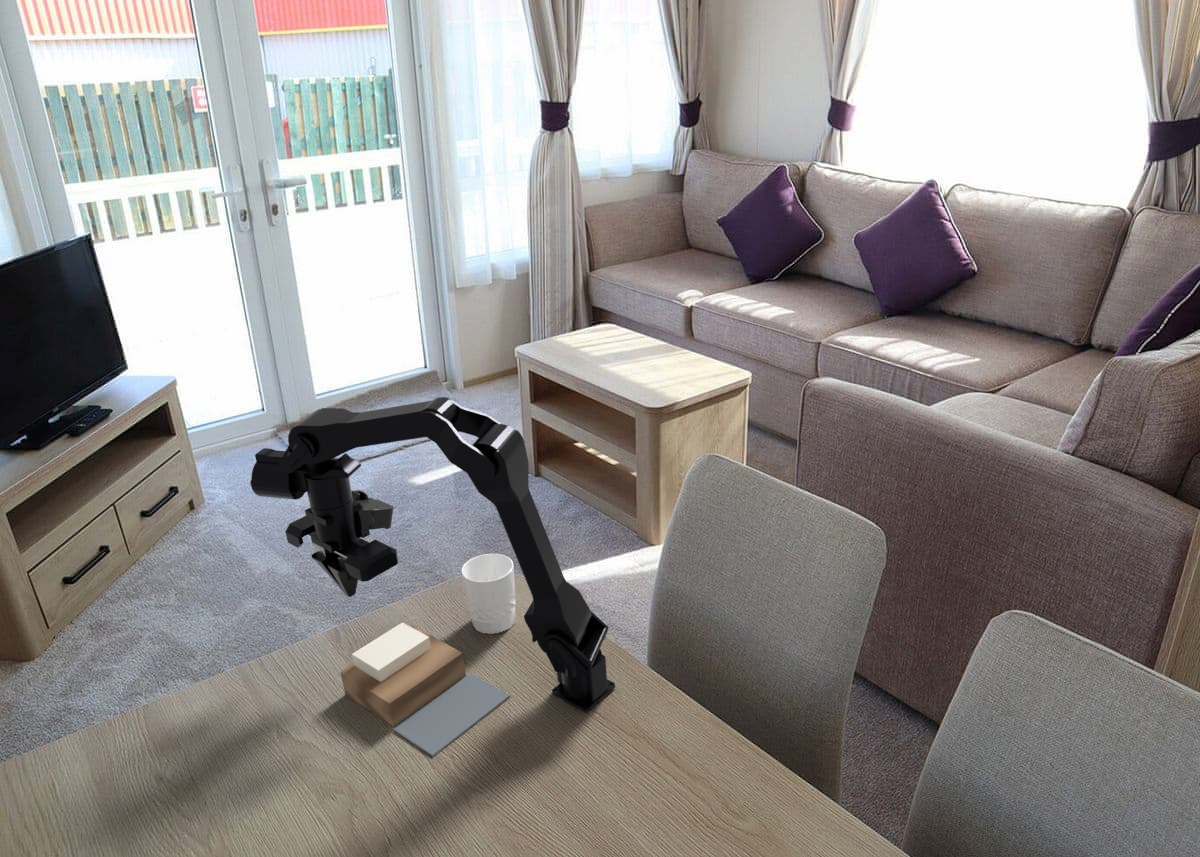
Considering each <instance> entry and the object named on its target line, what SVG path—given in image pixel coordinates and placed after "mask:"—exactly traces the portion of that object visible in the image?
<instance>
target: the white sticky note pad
mask: <svg viewBox="0 0 1200 857" xmlns="http://www.w3.org/2000/svg"><path fill="white" fill-rule="evenodd" d="M430 649H431V645H430V639H429V637H428V636H426V635H425V634H423V633H421V632H419V631H417V630H415V629H414V628H412V627H411V626H410V625H408V624H407V623H405V622H401V623H399V624H398V625H396V626H394V627H393V628H391V629H389V630H388V631H386V632H385V633H383V634H381V635H380V636H378V637H376V638H375V639H374V640H371V641H370V642H369V643H367V644H366V645H364V646H362V647H361V648H359V649H358V650H356V651H354V652H353V653H351V656H352V660H353V662H352V663H354V666H356V667H357V668H359V669H361V670H362V671H364V672H365V673H367V674H369V675H370V676H372V677H373V678H375V679H376V680H378V681H380V682H382V681H383V680H385V679H386V678H388V677H389V676H391V675H392V674H394V673H395V672H397V671H398V670H400V669H401V668H403V667H404V666H406V665H407V664H409V663H410V662H412V661H413V660H415V659H416V658H418V657H419V656H421V655H422V654H424V653H425V652H427V651H428V650H430Z"/></svg>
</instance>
